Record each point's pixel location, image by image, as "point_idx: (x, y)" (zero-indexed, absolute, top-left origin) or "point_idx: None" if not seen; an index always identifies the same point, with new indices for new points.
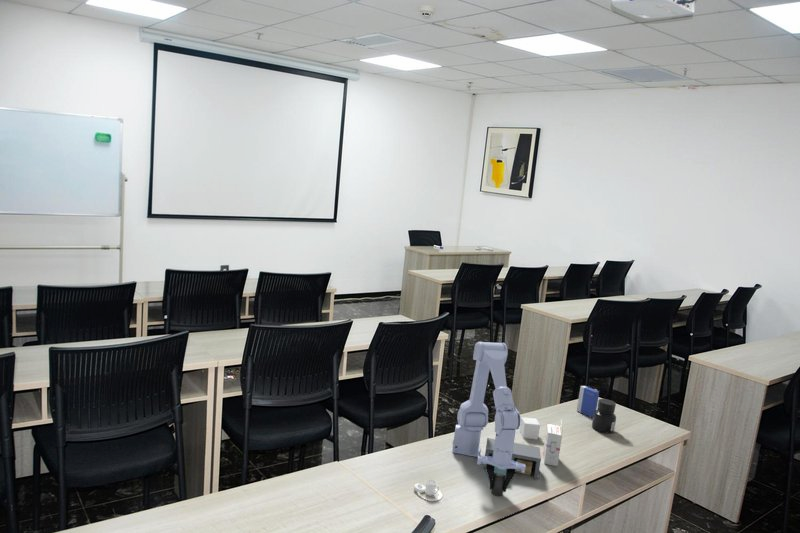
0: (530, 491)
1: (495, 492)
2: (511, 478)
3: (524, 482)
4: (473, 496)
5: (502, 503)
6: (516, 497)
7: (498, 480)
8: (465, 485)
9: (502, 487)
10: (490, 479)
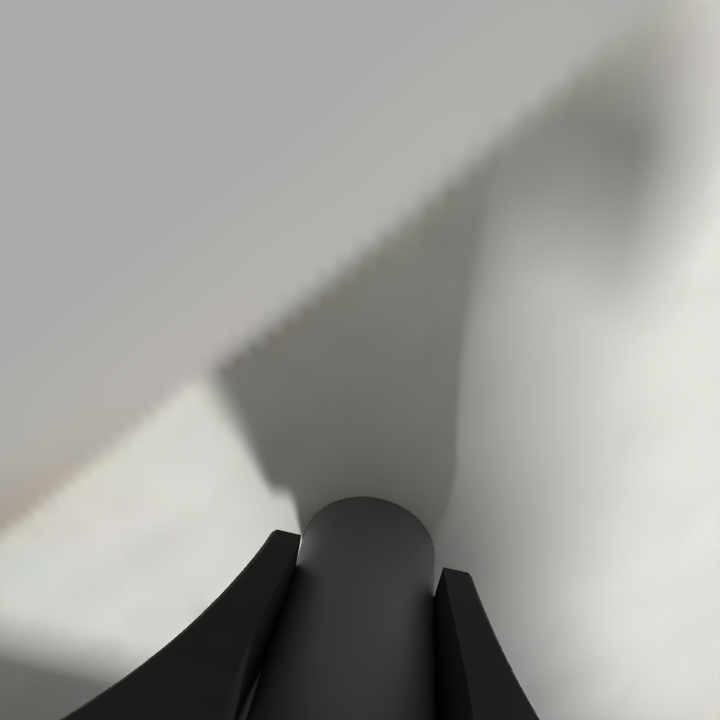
0: (23, 601)
1: (399, 532)
2: (99, 706)
3: None
4: (699, 461)
5: (337, 356)
6: (159, 494)
7: (365, 684)
8: (716, 657)
9: (305, 586)
10: (511, 703)
